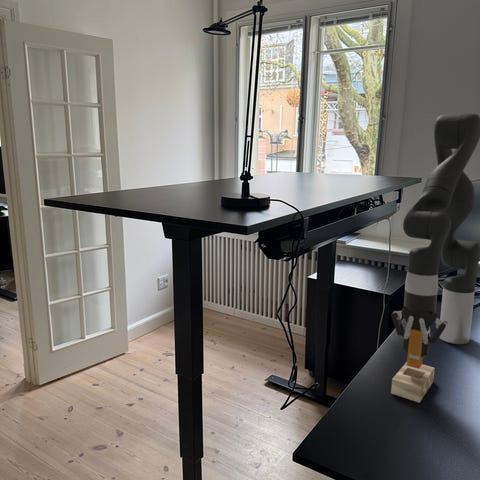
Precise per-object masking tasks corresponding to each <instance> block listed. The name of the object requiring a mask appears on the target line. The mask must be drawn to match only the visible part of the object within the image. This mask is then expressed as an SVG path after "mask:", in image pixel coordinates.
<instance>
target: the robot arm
mask: <svg viewBox="0 0 480 480" xmlns="http://www.w3.org/2000/svg"><path fill="white" fill-rule="evenodd" d="M433 137H434V140H433V141H434V147H435V154H436V162H437V166H436V167H435V168H434V169H433V170H432V171H431V172H430V173H429V175H428V177H427V179H426V182H425V185H424V186H423V190H422V192H421V195H420V196H419V197H418V199H417V200H416V201H415V202H414V204H413V205H412V206H411V207H410V209H409V210H408V211H407V213H406V214H405V216H404V218H403V221H402V228H403V232H404V234H405V235H406V236H407V237H409V238H413V239H418V240H419V239H422V240H430V244H429V245H428V246H423V247H422V246H421V247H415V248H411V249H410V250H409V253H408V261H407V262H408V263H407V272H406V277H405V283H404V301H403V308H402V309H401V310H394V311H393V312H392V313H391V314H390V316H391V319H392V322H393V325H394V328H395V331H396V334H397V336H401V337H403V350H404V351H405V353H406V354H408V347H409V338H410V330H411V329H412V328H417V329H419V330H421V334H422V335H423V343H422V351H421V357H423V358H425V357H426V356H428V354H429V352H430V344H436V343H437V341H438V340H439V339H440V340H441V341H444V342H447V343H450V344H454V345H467V344H468V343H469V342H470V337H471V331H472V329H471V328H472V321H473V320H472V319H473V310H474V302H475V301H474V300H475V291H476V285H477V283H476V282H477V273H478V268H479V263H480V243H479V242H478V241H473V240H464V239H457V238H456V239H455V237H454V235H455V233H456V232H457V230H458V229H459V228H460V227H461V225H462V224H463V223H464V222H465V221H466V220H467V219H468V218H469V216H470V215H471V213H472V212H473V210H474V207H475V188H474V184H473V183H472V181H471V179H470V178H469V176H468V175H467V174H466V173H465V172H464V170H465V168H466V166H467V164H468V162H469V161H470V159H471V157H472V155H473V153H474V151H475V149H476V148H477V146H478V144H479V141H480V116H479V114H477V113H453V114H452V113H448V114H441V115H439V116H438V117H437V118H436V120H435V122H434V129H433ZM453 149H454V152H453ZM440 258H441V259H440ZM440 260H441V263H442V265H443V266H445V267H447V268H452V269H459V270H464V273H462V274H460V275H459V274H458V275H455V276H454V275H453V276H449V277H446V278H445V279H444V280H443V286H442V295H441V296H442V298H441V308H440V318H439V317H438V315H437V312H436V311H437V302H438V301H437V300H438V291H439V290H438V288H439V267H440ZM402 319H404V320H405V322H406V326H405V328H404V324H403V322H402ZM434 323H435V328H436V331H435V333H434V334H433V336H431V328H430V327H431V326H432V325H433V324H434Z"/></svg>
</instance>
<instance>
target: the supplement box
mask: <svg viewBox="0 0 480 480" xmlns="http://www.w3.org/2000/svg"><path fill="white" fill-rule="evenodd" d="M422 343H423V335H422V334H421V330H419V329H417V328H412V329H411V330H410V338H409V347H408V353H407V359H406V362H407V366H410V367H414V368H418V369H419V368H420V367H421V365H422V364H423V361H424V357H421V351H422Z"/></svg>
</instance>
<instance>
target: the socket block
mask: <svg viewBox="0 0 480 480" xmlns="http://www.w3.org/2000/svg"><path fill="white" fill-rule="evenodd" d="M434 378H435V367H433V366H429V365H426V364H423V363H422V365H421V367H420V368H419V369H418V368H414V367H410V366H407V361H406V362H405V363H404V364H403V366H402V367H400V369H399V370H398V372H396V374H395V375H394V376H393V377H392V379H391V390H390V394H391V395H395V396H398V397H401V398H404V399H408V400H409V401H414V402H416V403H419V404H420V403H421V401H422V400H423V398H424V396H425V395H426V394H427V392H428V390H429V389H430V388H431V386H432V384H433V383H434Z"/></svg>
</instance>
